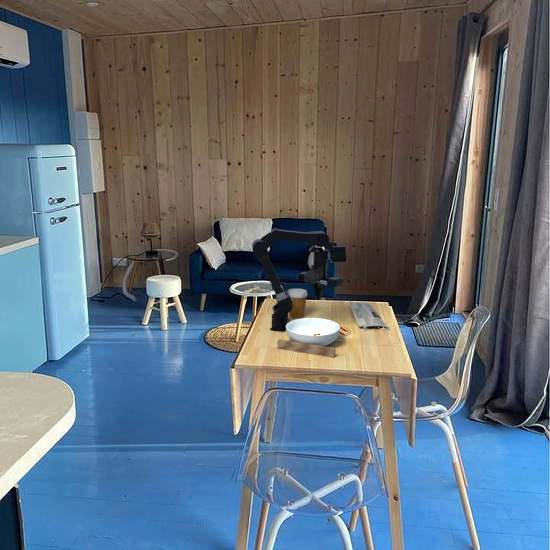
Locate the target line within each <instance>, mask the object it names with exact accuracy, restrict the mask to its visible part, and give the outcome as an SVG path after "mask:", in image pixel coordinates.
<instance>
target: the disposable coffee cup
mask: <svg viewBox="0 0 550 550" xmlns="http://www.w3.org/2000/svg"><path fill="white" fill-rule="evenodd" d="M287 291H288V292H289V294H290V297H291V298H292V300H293V303H292V305H293V308H292V310H291V311H290V312H289V313H288V316H289V318H291V319H293V320H296V319H301V318H305V317H304V316H305V310H306V309H305V308H306V303H307V302H306V301H307V296H308V295H309V294H308V290H307V289H303V288H289V289H287Z"/></svg>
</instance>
